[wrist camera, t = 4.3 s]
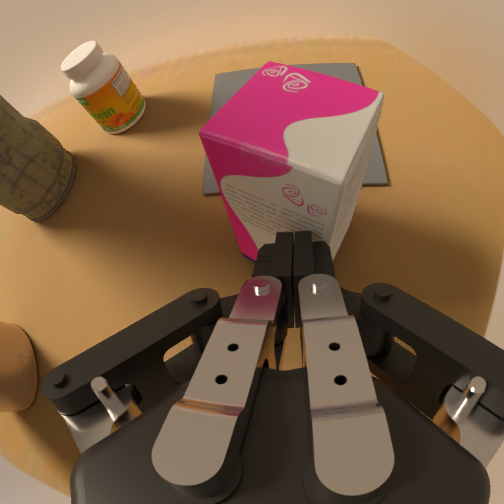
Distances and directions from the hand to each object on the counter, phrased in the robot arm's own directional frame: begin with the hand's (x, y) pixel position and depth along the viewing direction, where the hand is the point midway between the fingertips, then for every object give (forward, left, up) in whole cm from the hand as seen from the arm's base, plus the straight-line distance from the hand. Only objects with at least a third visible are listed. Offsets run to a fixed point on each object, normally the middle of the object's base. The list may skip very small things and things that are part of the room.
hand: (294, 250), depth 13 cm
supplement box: (0, +3, -7) cm, 8 cm away
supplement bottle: (-17, +18, -8) cm, 26 cm away
